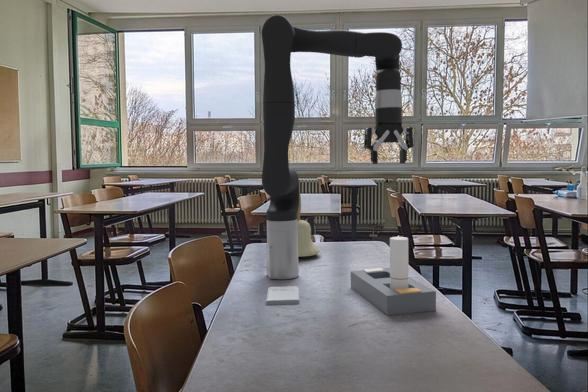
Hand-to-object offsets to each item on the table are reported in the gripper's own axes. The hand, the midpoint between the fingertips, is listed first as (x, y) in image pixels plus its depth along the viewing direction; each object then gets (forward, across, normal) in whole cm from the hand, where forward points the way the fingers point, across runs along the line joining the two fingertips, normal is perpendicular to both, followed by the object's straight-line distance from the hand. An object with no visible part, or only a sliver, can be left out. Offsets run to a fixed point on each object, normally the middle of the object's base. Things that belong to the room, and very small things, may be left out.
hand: (388, 163), depth 139 cm
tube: (+32, -9, -25) cm, 42 cm away
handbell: (+33, -19, +36) cm, 53 cm away
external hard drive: (+34, -34, -11) cm, 49 cm away
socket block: (+33, -9, -20) cm, 40 cm away
